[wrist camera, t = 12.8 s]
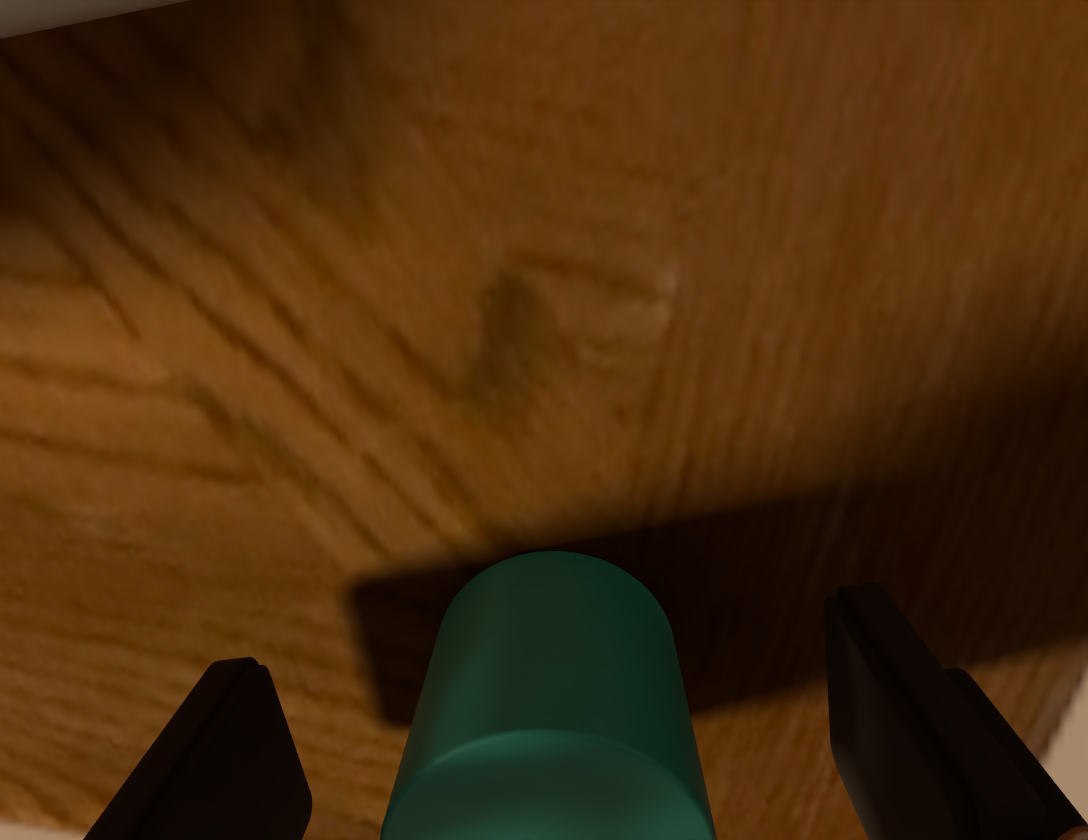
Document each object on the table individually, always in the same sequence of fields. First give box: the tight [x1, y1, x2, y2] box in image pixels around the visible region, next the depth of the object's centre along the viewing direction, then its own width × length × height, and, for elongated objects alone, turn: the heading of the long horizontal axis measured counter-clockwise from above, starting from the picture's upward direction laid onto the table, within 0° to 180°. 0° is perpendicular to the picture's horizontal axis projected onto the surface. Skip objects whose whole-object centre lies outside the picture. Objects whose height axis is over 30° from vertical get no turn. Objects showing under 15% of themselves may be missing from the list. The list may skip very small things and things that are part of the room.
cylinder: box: [380, 551, 717, 840], centre depth 10 cm, size 4×4×4 cm
